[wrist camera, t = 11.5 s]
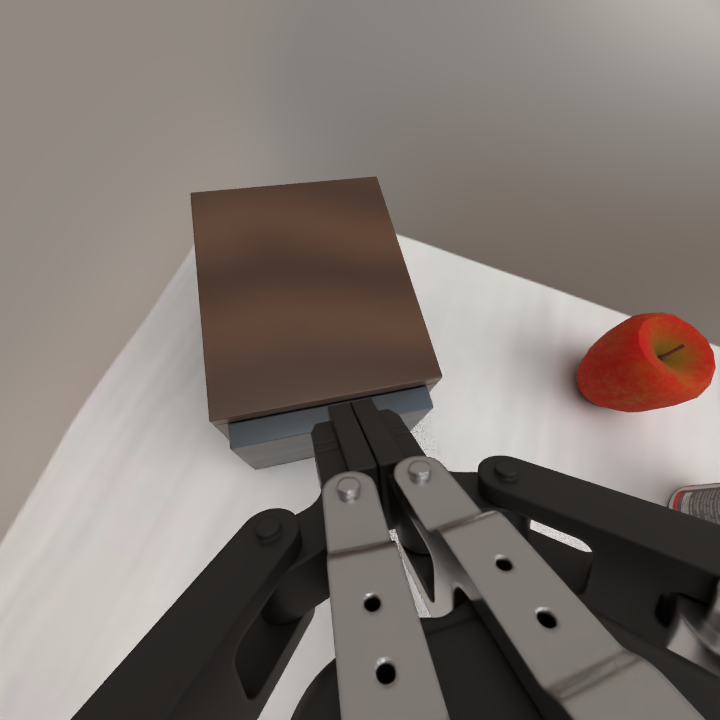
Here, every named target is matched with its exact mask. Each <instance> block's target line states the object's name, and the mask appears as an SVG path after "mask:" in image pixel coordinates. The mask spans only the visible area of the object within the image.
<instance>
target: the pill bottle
mask: <svg viewBox="0 0 720 720" xmlns="http://www.w3.org/2000/svg"><path fill="white" fill-rule="evenodd" d="M669 508H670V509H673V510H676V511H679V512H683V513H686V514H689V515H692V516H695V517H698V518H701V519H704V520H707V521H710V522H713V523H716V524H719V525H720V483H713V484H703V485H692V486H686V487H683V488H681V489H679V490H677V491H676V492H675V493H674V494H673V496H672V498H671V500H670V503H669Z"/></svg>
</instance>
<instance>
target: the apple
mask: <svg viewBox="0 0 720 720" xmlns="http://www.w3.org/2000/svg"><path fill="white" fill-rule="evenodd" d="M715 368H716V367H715V360H714V353H713V351H712V349H711V347H710V345H709V343H708V341H707V339H706V338H705V337H704V336H702V335H701V334H700V333H699V332H698V331H697V330H696V329H695V328H694V327H693V326H692V325H690V324H689V323H687V322H685V321H683V320H682V319H680V318H678V317H677V316H675V315H672V314H666V313H649V314H640V315H636V316H632V317H631V318H629V319H627V320H625V321H623V322H622V323H620V324H619V325H617V326H616V327H614V328H613V329H611V330H609V331H608V332H607V333H606V334H605V335H603V336H602V337H601V338H600V339H599V340H598V341H597V342H596V343H595V344H594V345H593V346H592V347H591V348H590V349H589V350H588V352H587V353H586V355H585V357H584V358H583V360H582V361H581V364H580V366H579V368H578V370H577V374H576V378H577V386H578V387H579V389H580V391H581V393H582V394H583V396H584V397H585V398H587V399H588V400H589V401H591V402H592V403H593V404H595V405H598V406H601V407H605V408H610V409H614V410H619V411H624V412H641V411H648V410H653V409H659V408H664V407H669V406H674V405H677V404H680V403H683V402H686V401H689V400H691V399H694V398H697V397H698V396H699V395H700V394H701V393H703V391H704V390H705V389H706V388H707V387H708V386H709V385H710V383H711V380H712V377H713V374H714V371H715Z"/></svg>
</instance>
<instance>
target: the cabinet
mask: <svg viewBox="0 0 720 720" xmlns="http://www.w3.org/2000/svg"><path fill="white" fill-rule="evenodd" d="M191 205H192V218H193V230H194V242H195V254H196V266H197V278H198V290H199V302H200V314H201V326H202V338H203V350H204V362H205V374H206V386H207V398H208V410H209V421H210V422H211V423H212V424H213V425H214V426H215V427H216V428H217V429H218V430H219V431H221V432H222V433H223V434H224V435H225V436H226V437H227V438H228V439H229V431H228V424H231V423H236V422H241V421H246V420H252V419H255V417H260V416H265V415H270V414H275V413H281V412H286V411H291V410H296V409H301V408H307V407H312V406H317V405H322V404H327V403H333V402H338V401H343V400H348V399H353V398H359V397H364V396H369V395H374V394H379V393H385V392H390V391H392V392H397V391H402V390H407V389H412V388H417V387H423V386H427V388H428V391H429V392H430V391H431V390H432V389H433V387H434V386H435V385H436V384H437V382H439V380H440V379H441V378H442V374H441V371H440V368H439V365H438V361H437V358H436V355H435V352H434V349H433V346H432V343H431V340H430V337H429V334H428V331H427V328H426V325H425V322H424V319H423V316H422V313H421V310H420V307H419V304H418V301H417V298H416V295H415V292H414V289H413V286H412V282H411V279H410V276H409V273H408V270H407V267H406V264H405V261H404V258H403V255H402V252H401V249H400V246H399V243H398V240H397V237H396V234H395V231H394V228H393V225H392V222H391V219H390V216H389V213H388V210H387V207H386V204H385V200H384V197H383V194H382V192H381V188H380V185H379V183H378V179H377V177H366V178H355V179H343V180H332V181H320V182H310V183H298V184H286V185H275V186H265V187H264V186H263V187H252V188H241V189H229V190H218V191H206V192H196V193H191ZM392 392H391V393H392Z"/></svg>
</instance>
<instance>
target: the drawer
mask: <svg viewBox="0 0 720 720" xmlns="http://www.w3.org/2000/svg"><path fill="white" fill-rule="evenodd" d="M391 392H392V391H390V392H385V393H379V394H374V395H369V396H364V397H359V398H353V399H348V400H343V401H338V402H333V403H327V404H322V405H317V406H312V407H307V408H301V409H296V410H291V411H286V412H281V413H275V414H270V415H265V416H260V417H255V419H252V420H246V421H241V422H236V423H231V424H228V431H229V440H230V448H231V450H233V451H234V452H235V453H236V454H237V455H239V456H240V457H241V458H242V459H243V460H244V461H246V462H247V463H248V464H249V465H250V466H252V467H253V468H254V469H255V470H256V469H261V468H266V467H270V466H275V465H279V464H284V463H289V462H293V461H298V460H303V459H307V458H312V457H315V455H314V449H313V444H312V438H311V432H312V430H313V428H314V426H315V424H317V423H322V422H327V421H329V416H328V406H332V405H337V404H342V403H347V402H349V404H350V402H352V401H357V400H362V399H367V398H371V399H372V400H373V402H374V404H375V406H376V407H377V409H378V411H380V410H385V409H390V410H392V411H393V412H395V413H397V414H398V415H400V417H401V418H402V420H403V422H404V423H405V425H406V426H407V428H408V429H409V431H411V430H412V429H413V428H414V427H415V426H416V425H417V424H418V423H419V422H420V421H421V420H422V419H423V417H424V416H425V415H426V414H427V413H428V412H429V411H430V410H431V409H432V408H433V404H432V401H431V398H430V395H429V391H428V388H427V386H423V387H417V388H412V389H407V390H402V391H397V392H392V393H391Z"/></svg>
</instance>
